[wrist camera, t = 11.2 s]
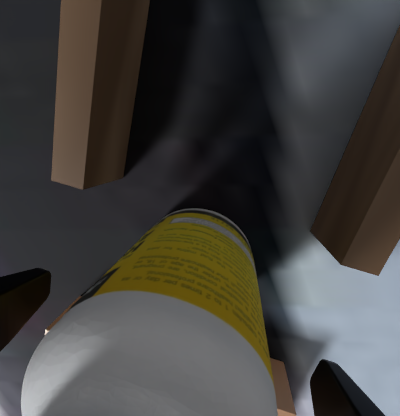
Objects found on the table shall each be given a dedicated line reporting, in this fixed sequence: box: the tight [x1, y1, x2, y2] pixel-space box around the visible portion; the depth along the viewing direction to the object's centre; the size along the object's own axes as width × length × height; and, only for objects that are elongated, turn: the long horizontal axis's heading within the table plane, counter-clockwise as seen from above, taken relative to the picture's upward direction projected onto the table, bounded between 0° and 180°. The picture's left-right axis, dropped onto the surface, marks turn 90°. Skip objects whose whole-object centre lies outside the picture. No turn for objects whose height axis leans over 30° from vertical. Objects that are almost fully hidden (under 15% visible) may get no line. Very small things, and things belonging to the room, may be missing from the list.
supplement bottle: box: [21, 208, 278, 416], centre depth 7 cm, size 5×5×10 cm
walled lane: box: [51, 0, 400, 276], centre depth 8 cm, size 11×9×3 cm
